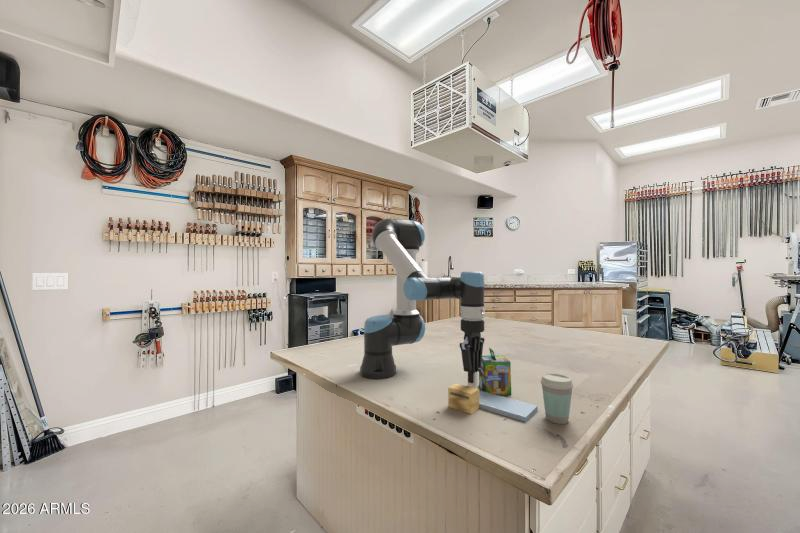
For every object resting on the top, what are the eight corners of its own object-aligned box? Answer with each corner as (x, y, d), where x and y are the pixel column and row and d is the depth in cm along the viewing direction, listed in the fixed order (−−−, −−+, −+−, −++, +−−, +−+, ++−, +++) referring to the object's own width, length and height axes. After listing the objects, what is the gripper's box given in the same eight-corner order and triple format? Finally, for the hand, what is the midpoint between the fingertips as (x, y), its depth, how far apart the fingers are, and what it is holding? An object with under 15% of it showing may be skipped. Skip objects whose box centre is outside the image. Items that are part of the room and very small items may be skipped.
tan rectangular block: (448, 406, 100) (448, 387, 100) (456, 401, 104) (456, 383, 104) (471, 414, 95) (471, 393, 95) (479, 408, 99) (479, 389, 99)
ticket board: (452, 400, 106) (452, 395, 106) (467, 391, 113) (467, 386, 113) (525, 422, 90) (525, 417, 90) (537, 410, 98) (537, 405, 98)
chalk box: (511, 395, 109) (511, 352, 110) (484, 395, 109) (484, 352, 109) (502, 385, 119) (502, 345, 119) (478, 385, 119) (478, 345, 119)
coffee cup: (581, 423, 89) (580, 380, 89) (555, 428, 87) (555, 383, 87) (557, 410, 97) (557, 371, 98) (534, 414, 95) (534, 374, 95)
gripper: (473, 322, 97) (473, 401, 97) (491, 317, 107) (492, 388, 106) (451, 320, 102) (452, 394, 101) (471, 315, 112) (471, 383, 111)
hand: (472, 391), depth 104 cm, fingers closed
